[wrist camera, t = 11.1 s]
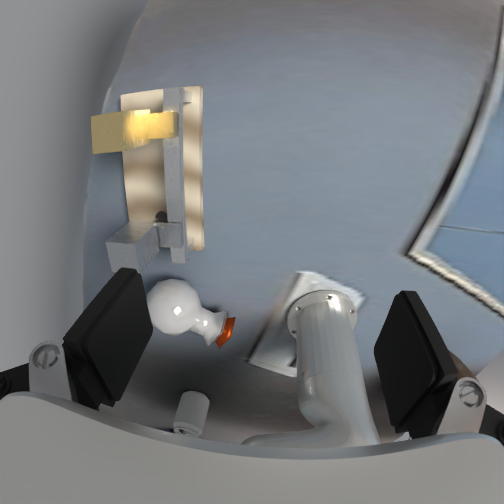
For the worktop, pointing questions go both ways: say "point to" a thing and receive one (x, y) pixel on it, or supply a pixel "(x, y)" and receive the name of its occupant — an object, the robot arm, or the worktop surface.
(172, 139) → the trammel frame
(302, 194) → the worktop surface
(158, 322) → the potion bottle
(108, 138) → the block
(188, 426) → the can
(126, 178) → the hole plate
